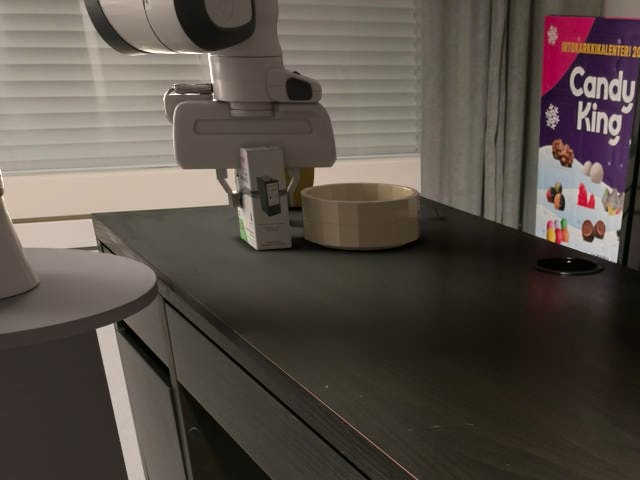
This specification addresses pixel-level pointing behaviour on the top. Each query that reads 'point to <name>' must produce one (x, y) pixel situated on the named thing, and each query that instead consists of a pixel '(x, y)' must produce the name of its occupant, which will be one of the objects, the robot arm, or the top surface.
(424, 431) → the top surface
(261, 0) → the robot arm
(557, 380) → the top surface
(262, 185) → the ink box
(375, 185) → the bowl
